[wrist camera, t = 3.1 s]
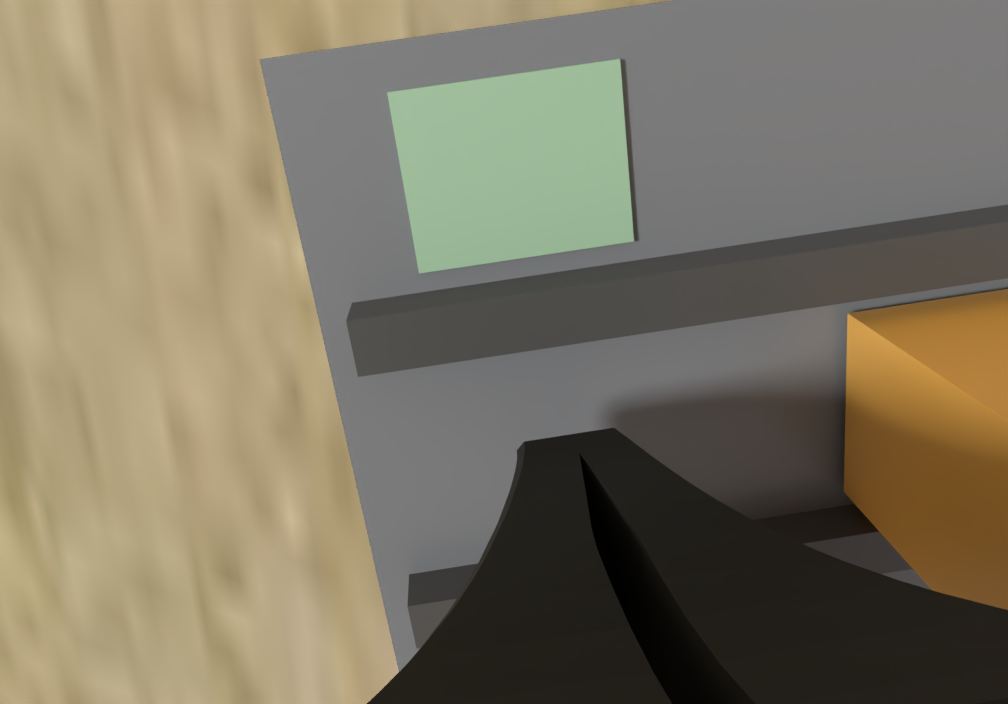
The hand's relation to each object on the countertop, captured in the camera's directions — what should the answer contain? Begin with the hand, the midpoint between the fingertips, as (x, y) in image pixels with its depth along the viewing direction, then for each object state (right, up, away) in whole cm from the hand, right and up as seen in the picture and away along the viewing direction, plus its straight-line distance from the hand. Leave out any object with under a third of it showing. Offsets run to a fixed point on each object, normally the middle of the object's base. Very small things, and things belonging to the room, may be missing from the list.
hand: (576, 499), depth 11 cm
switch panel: (+5, +3, +4) cm, 7 cm away
